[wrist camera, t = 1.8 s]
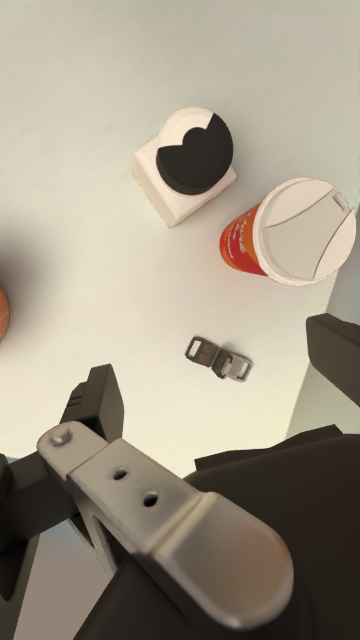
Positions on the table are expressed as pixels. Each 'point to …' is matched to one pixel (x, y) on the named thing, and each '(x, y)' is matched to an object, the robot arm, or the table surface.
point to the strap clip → (219, 360)
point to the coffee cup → (292, 234)
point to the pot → (3, 313)
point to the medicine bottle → (185, 163)
